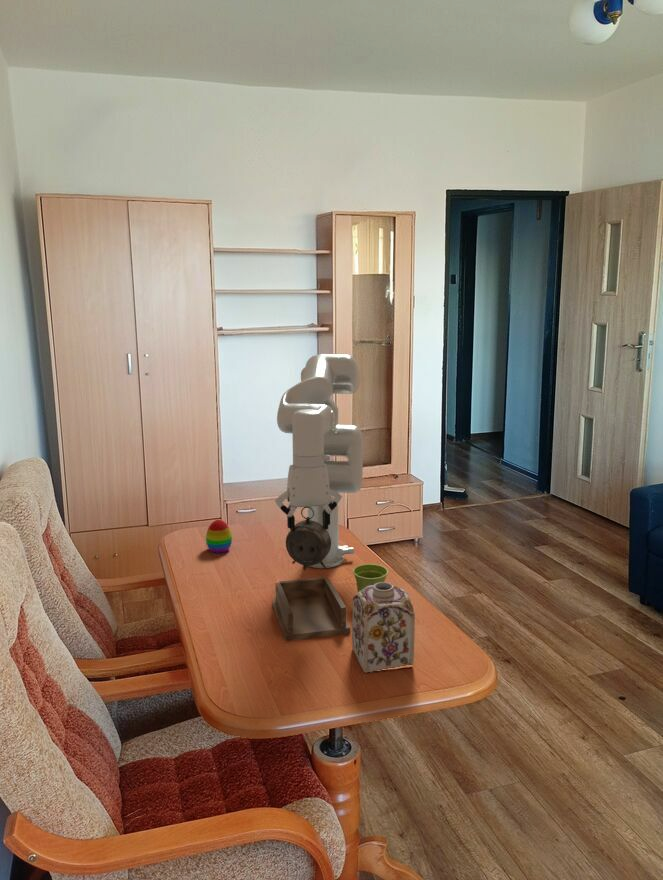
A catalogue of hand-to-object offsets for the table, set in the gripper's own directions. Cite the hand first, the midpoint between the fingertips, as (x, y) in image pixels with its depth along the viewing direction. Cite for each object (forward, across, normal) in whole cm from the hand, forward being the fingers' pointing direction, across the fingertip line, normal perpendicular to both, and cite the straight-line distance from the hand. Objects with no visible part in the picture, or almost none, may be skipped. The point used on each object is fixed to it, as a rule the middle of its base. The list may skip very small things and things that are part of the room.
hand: (308, 528), depth 178 cm
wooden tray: (+24, 0, 0) cm, 24 cm away
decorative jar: (+25, -12, +23) cm, 36 cm away
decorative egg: (+24, +18, -53) cm, 61 cm away
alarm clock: (+11, 0, 0) cm, 11 cm away
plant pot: (+25, -18, -6) cm, 31 cm away
